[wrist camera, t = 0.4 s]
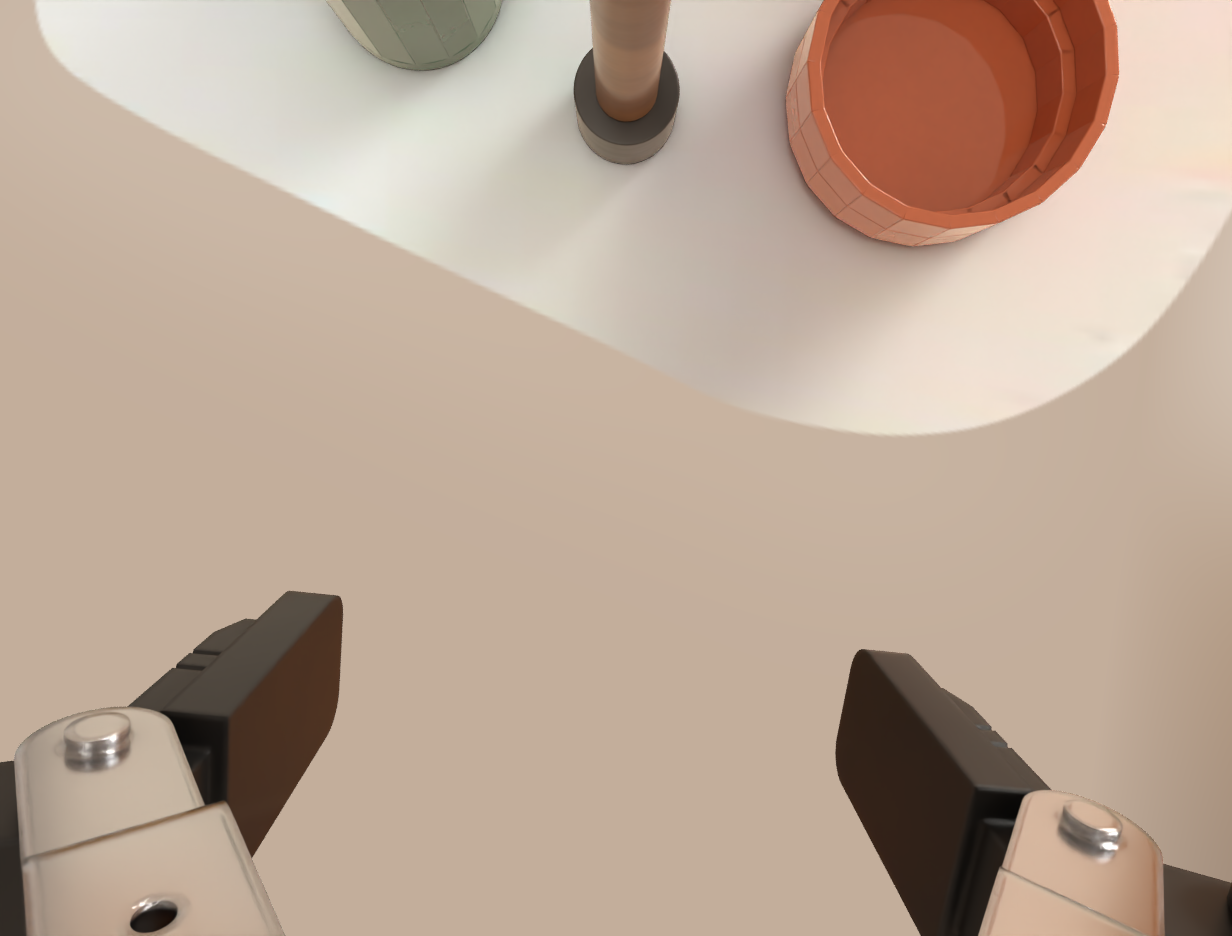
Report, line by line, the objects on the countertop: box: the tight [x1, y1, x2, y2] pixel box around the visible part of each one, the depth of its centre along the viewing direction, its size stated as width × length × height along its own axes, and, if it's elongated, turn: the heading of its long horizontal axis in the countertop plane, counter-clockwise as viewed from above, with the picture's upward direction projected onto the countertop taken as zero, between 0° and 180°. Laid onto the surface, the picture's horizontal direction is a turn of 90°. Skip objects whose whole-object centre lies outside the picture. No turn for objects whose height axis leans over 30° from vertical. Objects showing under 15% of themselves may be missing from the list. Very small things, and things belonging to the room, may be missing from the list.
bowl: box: [786, 0, 1119, 246], centre depth 35 cm, size 13×13×5 cm
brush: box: [574, 0, 680, 164], centre depth 28 cm, size 5×5×18 cm
